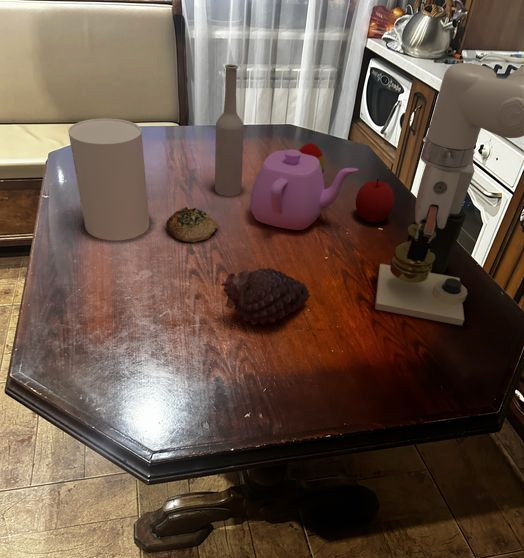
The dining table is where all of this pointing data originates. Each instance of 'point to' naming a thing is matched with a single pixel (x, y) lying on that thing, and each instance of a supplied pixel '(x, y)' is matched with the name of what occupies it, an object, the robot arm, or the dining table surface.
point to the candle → (451, 223)
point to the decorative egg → (313, 153)
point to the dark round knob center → (452, 286)
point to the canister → (110, 177)
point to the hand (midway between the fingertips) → (415, 250)
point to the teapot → (292, 190)
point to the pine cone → (264, 294)
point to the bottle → (229, 141)
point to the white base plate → (419, 297)
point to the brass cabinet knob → (411, 261)
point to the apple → (375, 201)
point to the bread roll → (191, 225)
